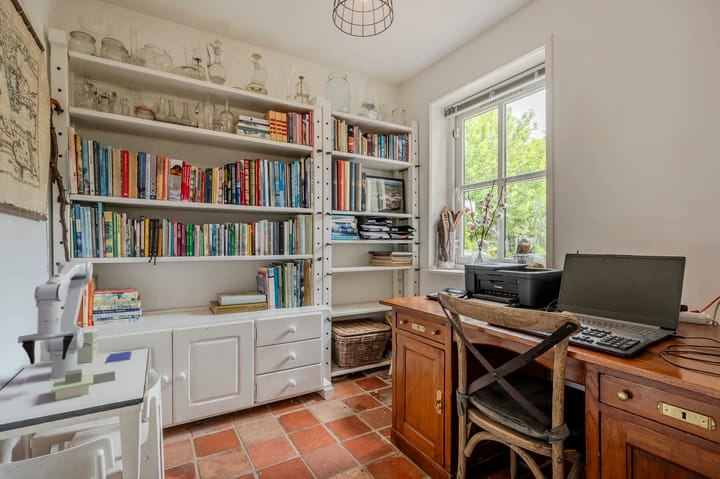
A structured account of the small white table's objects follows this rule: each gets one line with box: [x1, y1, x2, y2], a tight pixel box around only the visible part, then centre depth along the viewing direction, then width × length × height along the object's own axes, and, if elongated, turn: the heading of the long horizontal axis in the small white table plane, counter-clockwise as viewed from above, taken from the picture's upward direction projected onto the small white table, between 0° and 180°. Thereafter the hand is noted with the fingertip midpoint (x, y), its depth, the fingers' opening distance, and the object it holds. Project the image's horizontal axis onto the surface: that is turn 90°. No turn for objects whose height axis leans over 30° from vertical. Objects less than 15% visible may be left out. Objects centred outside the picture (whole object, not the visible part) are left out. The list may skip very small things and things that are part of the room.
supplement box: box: [77, 328, 99, 364], centre depth 142 cm, size 7×7×13 cm
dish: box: [55, 385, 91, 401], centre depth 109 cm, size 8×8×4 cm
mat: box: [90, 371, 116, 386], centre depth 120 cm, size 11×11×1 cm
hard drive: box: [105, 350, 133, 364], centre depth 144 cm, size 2×8×12 cm
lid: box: [50, 368, 95, 393], centre depth 109 cm, size 10×10×4 cm
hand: (48, 361), depth 111 cm, fingers open, 7 cm apart
